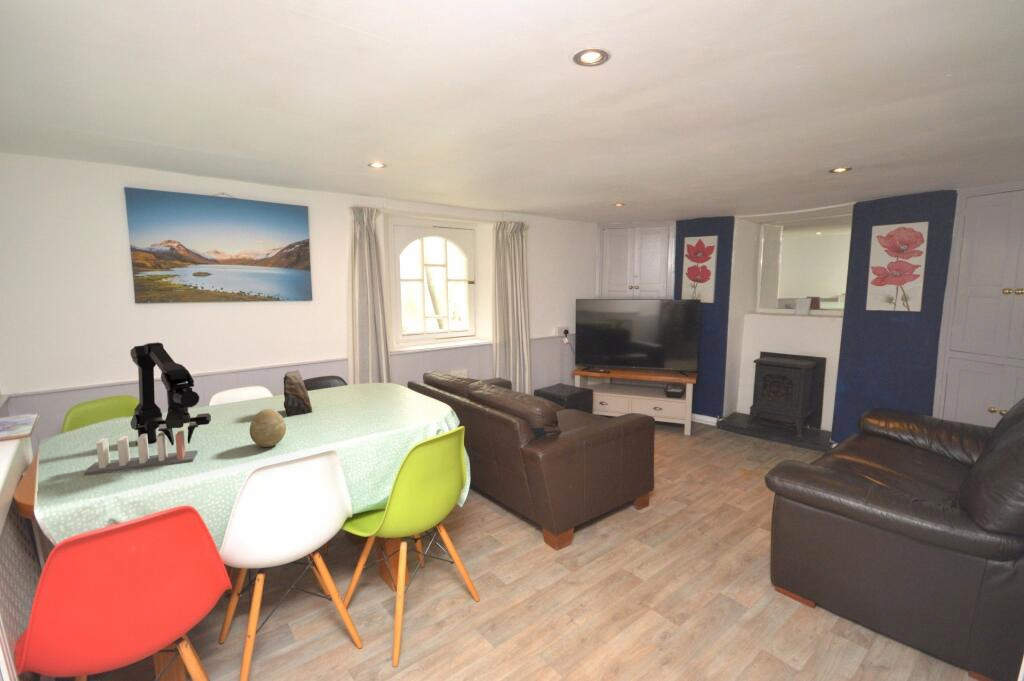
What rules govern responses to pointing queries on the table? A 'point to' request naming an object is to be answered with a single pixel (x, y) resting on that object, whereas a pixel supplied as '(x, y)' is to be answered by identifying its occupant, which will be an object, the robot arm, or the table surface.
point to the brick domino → (180, 444)
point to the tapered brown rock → (295, 395)
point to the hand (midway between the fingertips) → (181, 444)
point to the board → (136, 464)
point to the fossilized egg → (267, 428)
